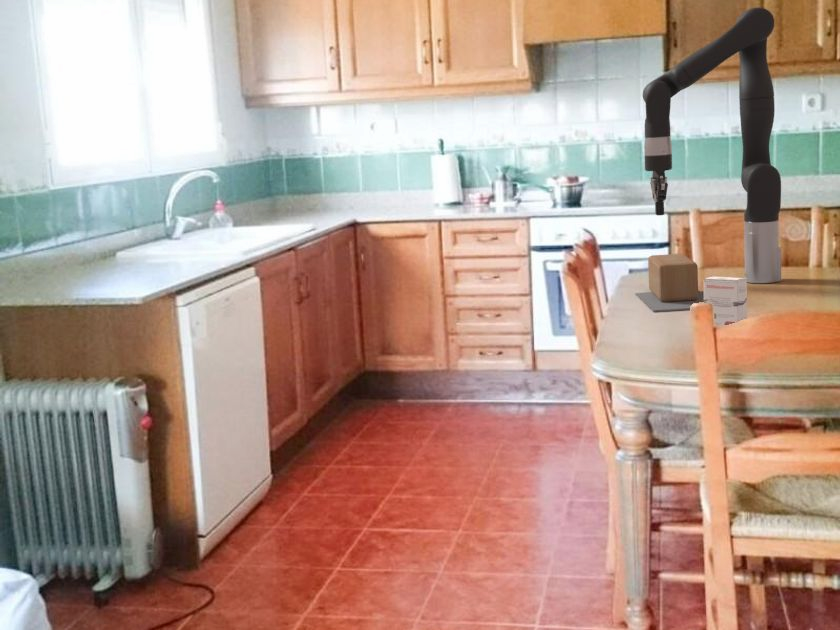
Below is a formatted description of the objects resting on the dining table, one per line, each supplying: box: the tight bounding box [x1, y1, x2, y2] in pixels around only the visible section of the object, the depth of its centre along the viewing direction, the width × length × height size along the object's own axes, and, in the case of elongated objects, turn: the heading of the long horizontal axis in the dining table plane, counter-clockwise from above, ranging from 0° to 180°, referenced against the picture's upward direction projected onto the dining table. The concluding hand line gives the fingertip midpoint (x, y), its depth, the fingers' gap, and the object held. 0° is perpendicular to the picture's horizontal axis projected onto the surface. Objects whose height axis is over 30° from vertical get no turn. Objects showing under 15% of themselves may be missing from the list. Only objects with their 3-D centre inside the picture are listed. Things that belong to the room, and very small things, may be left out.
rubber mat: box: [634, 289, 704, 313], centre depth 279 cm, size 17×27×1 cm, turn 178°
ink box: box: [703, 276, 748, 326], centre depth 239 cm, size 9×5×12 cm, turn 48°
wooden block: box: [647, 253, 699, 302], centre depth 284 cm, size 10×10×20 cm
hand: (659, 214), depth 300 cm, fingers closed
